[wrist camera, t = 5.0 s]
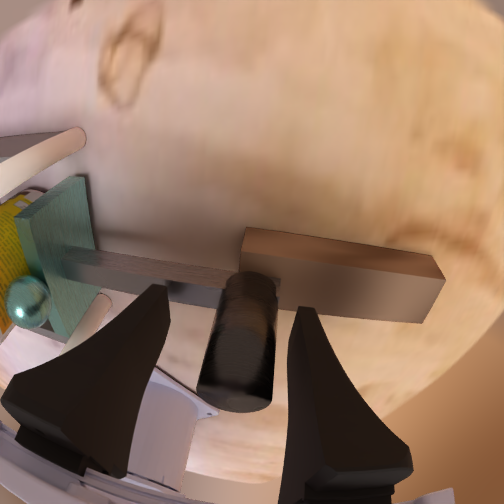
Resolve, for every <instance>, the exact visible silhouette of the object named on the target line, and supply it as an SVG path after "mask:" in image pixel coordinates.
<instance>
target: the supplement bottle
mask: <svg viewBox="0 0 504 504" xmlns="http://www.w3.org/2000/svg"><path fill="white" fill-rule="evenodd" d="M43 194H44V193H42V192H40V191H37V190H30V189H29V190H24V191H21V192H19V193H18V194H16V195H15V196H13V197H12V198H10V199H9V200H7V201H6V202H4V203H3V204H1V205H0V345H1V343H2V342H3V341H4V340H5V338H6V337H7V336H8V334H9V333H10V332H11V330H12V329H13V328H14V326H15V325H16V324H14V323H13V322H12V321H11V319H10V318H9V317H8V315H7V313H6V310H5V306H4V295H5V291H6V288H7V287H8V285H9V283H10V282H11V281H12V280H13V279H15V278H16V277H18V276H21V275H31V273H30V270H29V268H28V265H27V262H26V259H25V256H24V252H23V249H22V246H21V243H20V239H19V236H18V232H17V229H16V225H15V221H14V216H16V215H17V214H18V213H19V212H21V211H22V210H23V209H25V208H26V207H27V206H28V205H30V204H31V203H32V202H34V201H35V200H36V199H38V198H39V197H41V196H42V195H43Z"/></svg>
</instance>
